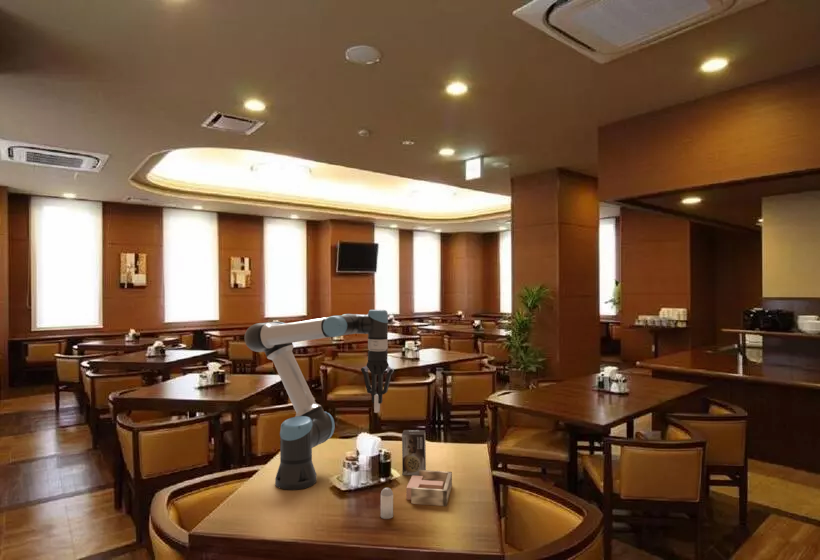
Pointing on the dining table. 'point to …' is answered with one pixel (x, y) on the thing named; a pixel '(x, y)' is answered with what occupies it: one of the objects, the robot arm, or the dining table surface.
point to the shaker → (386, 503)
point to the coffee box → (413, 452)
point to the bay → (433, 495)
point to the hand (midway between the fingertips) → (376, 411)
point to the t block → (421, 485)
